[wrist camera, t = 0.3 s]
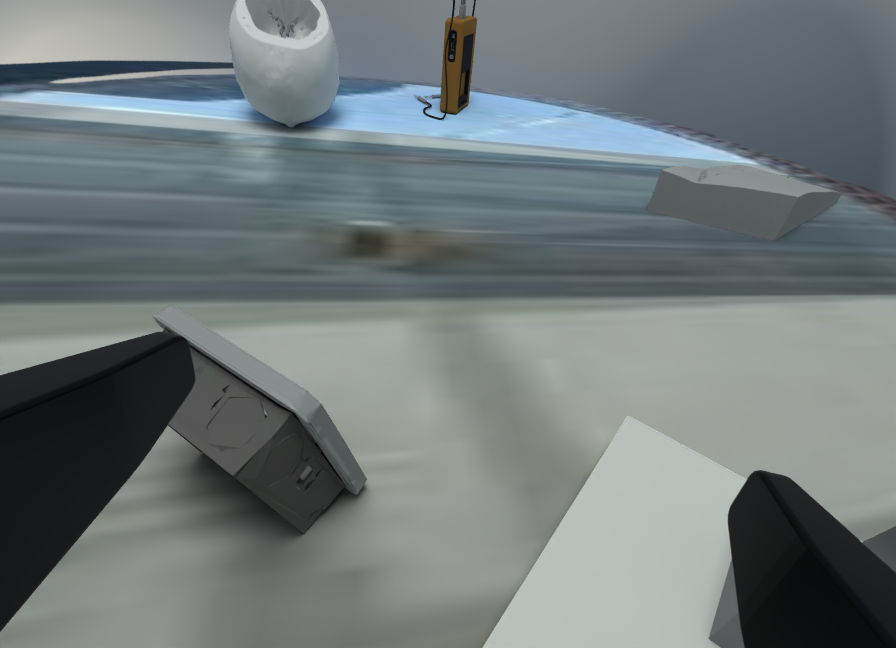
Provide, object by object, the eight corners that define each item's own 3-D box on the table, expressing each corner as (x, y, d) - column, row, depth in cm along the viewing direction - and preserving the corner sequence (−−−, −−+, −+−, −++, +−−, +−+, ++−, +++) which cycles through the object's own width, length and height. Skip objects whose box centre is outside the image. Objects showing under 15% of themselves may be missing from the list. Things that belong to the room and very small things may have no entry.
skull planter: (337, 79, 82) (330, -41, 65) (345, 172, 75) (340, 64, 58) (252, 76, 80) (222, -50, 62) (251, 172, 72) (217, 59, 55)
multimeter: (423, 91, 88) (429, -45, 76) (475, 101, 86) (490, -39, 74) (389, 110, 77) (389, -46, 65) (447, 121, 75) (459, -38, 63)
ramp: (782, 179, 68) (802, 140, 64) (890, 233, 56) (922, 189, 53) (610, 188, 60) (623, 145, 57) (694, 253, 48) (717, 203, 45)
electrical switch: (371, 487, 25) (350, 367, 18) (296, 575, 22) (240, 468, 15) (250, 403, 28) (197, 279, 22) (170, 468, 25) (83, 346, 19)
